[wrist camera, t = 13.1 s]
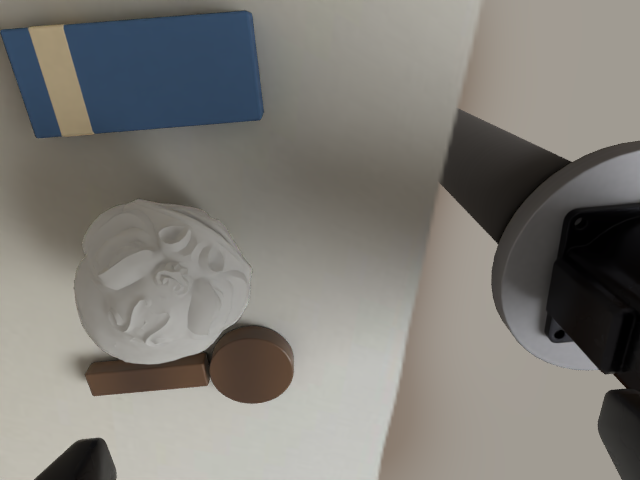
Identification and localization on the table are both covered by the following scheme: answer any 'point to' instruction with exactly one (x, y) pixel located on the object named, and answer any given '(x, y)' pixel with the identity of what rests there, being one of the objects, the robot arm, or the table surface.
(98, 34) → the blue eraser
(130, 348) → the frog figurine
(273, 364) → the brown disc with handle
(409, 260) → the table surface
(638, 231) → the robot arm
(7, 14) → the table surface
